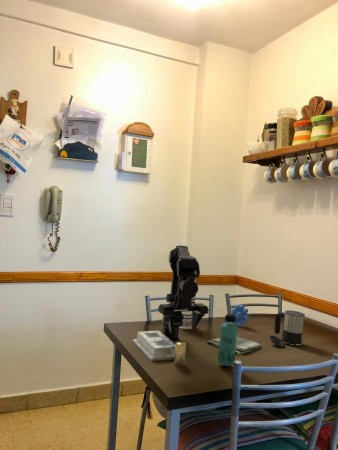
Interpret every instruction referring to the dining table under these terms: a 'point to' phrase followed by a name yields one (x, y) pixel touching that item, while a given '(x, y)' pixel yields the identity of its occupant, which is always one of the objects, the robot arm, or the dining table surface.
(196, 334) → the dining table surface
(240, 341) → the dish towel
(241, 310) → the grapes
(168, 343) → the aluminium jig
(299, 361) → the dining table surface
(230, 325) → the beverage bottle
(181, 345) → the solid brass peg
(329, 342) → the dining table surface
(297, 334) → the milk frother
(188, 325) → the leaning tower model
